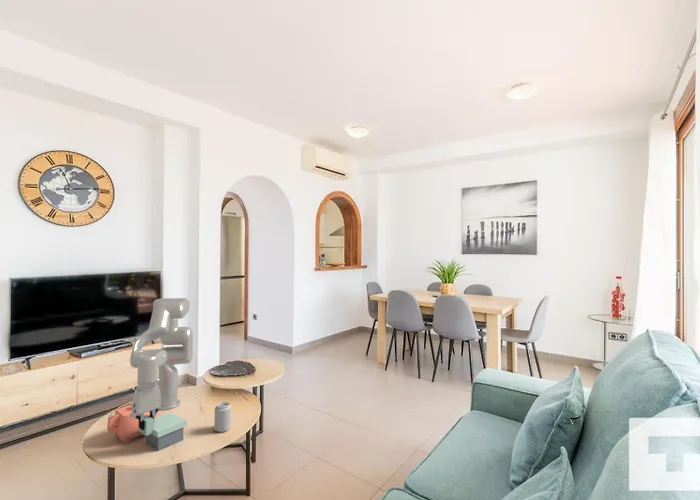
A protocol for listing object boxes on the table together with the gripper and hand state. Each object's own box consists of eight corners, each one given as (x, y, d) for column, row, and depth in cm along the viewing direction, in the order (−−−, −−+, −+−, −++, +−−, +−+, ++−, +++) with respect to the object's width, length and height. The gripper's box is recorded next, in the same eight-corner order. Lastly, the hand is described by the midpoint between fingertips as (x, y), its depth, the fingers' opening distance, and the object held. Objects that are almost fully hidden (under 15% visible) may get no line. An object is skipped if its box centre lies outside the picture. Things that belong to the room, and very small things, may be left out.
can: (234, 427, 172) (234, 402, 172) (223, 434, 165) (224, 408, 165) (221, 424, 174) (222, 399, 174) (210, 431, 167) (211, 405, 167)
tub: (145, 442, 156) (145, 426, 157) (170, 432, 166) (170, 417, 166) (158, 450, 150) (158, 434, 150) (183, 440, 159) (183, 424, 159)
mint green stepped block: (135, 431, 154) (135, 415, 154) (171, 417, 167) (171, 402, 167) (150, 441, 147) (150, 424, 147) (187, 425, 160) (187, 410, 160)
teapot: (154, 421, 175) (155, 393, 176) (166, 430, 168) (167, 400, 168) (102, 439, 158) (103, 407, 158) (112, 449, 150) (113, 416, 150)
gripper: (162, 376, 160) (161, 417, 160) (122, 387, 147) (121, 432, 147) (171, 380, 156) (170, 422, 156) (130, 392, 143) (129, 438, 143)
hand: (146, 427), depth 152 cm, fingers closed on mint green stepped block, 3 cm apart
